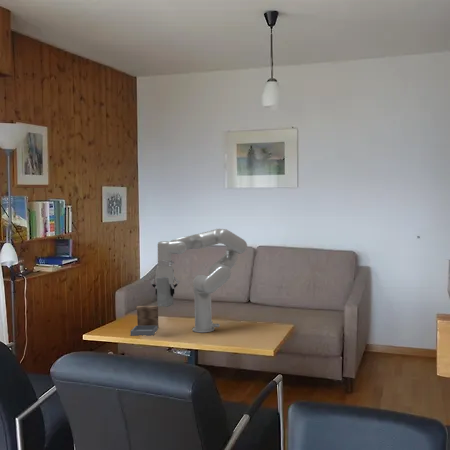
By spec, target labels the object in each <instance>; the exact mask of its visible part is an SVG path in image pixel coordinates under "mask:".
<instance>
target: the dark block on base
mask: <svg viewBox="0 0 450 450" xmlns="http://www.w3.org/2000/svg"><path fill="white" fill-rule="evenodd" d="M135 310H136V317H137V318H136V319H137V326H158V329H159V306H158V305H137V306H136V307H135Z"/></svg>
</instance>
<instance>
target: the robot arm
mask: <svg viewBox="0 0 450 450" xmlns="http://www.w3.org/2000/svg"><path fill="white" fill-rule="evenodd" d="M219 244H221V245H224V246H225V251H224V253H223V254H224V255H222V257H220V258H219V259H218V260H217V261H215V262H214V263H213V264H212V265H211V266H210V267H209V268H208V271H207V274H208V275H205V274H198V275H196V276H195V277H194V279H193V282H192V289H193V297H194V326H193V328H192V332H194V333H210V332H214V331H215V329H216V328H220V325H221V324H220V323H213V320H212V319H213V317H212V294H213V293H215V292H217V290H219V288H221V287H222V286H224V285H225V284H226V283H227V282H228V281H229V279H230V278H231V276H232V270H231V269H233V268H234V267H235V265H236V264H237V262H238V258H239V254H244V253H245V252H246V251H247V249H248V244H247V241H246V240H245V239H244V238H242V237H240V236H238V235H237V234H235V233H234V232H232V231H231V230H228V229H226V228H216V229H211V230H208V231H203V232H200V233H196V234H191V235H188V236H182V237H179V238H178V237H177V238H174V239H172V240H170V241H168V240H162V241H159V242H157V265H156V269H155V277H154V278H152V279H151V280H149V283H150V285H151V286H152V287H154V289H155V295H157V280H156V278H164V277H167V278H168V279H169V285H171V287H172V289H171V296H173V297H174V295H175V289H176V287H178V285H179V284H180V282H181V281H180V280H179V279H178V278H177V277H175V268H174V266H173V265H175V261H172V255H183V254H184V253H186V251H187V250H193V249H197V250H199V249H205V248H208V247H212V246H216V245H219ZM154 282H155V283H154ZM174 283H175V284H174Z"/></svg>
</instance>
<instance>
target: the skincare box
mask: <svg viewBox="0 0 450 450" xmlns="http://www.w3.org/2000/svg"><path fill="white" fill-rule="evenodd" d="M156 280H157V284H156V285H157V294H156V298H157V300H156V301H157V306H158V307H170V306H173V305H174V295H173V296H171V289H172V287H171V285H169V279H168V278H167V277H164V278H156Z"/></svg>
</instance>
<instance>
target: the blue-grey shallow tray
mask: <svg viewBox="0 0 450 450" xmlns="http://www.w3.org/2000/svg"><path fill="white" fill-rule="evenodd" d="M158 327H159V325H158V326H138V325H135V326H133V328H132V329H131V330H130V336H133V337H134V336H135V337H136V336H137V337H138V336H139V335H142V336H143V335H146V336H147V337H148V336H151V335H153V336H154V335H155V334H156V333H157V332H158V329H159V328H158ZM155 332H156V333H155ZM146 336H145V337H146ZM139 337H140V336H139Z"/></svg>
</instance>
